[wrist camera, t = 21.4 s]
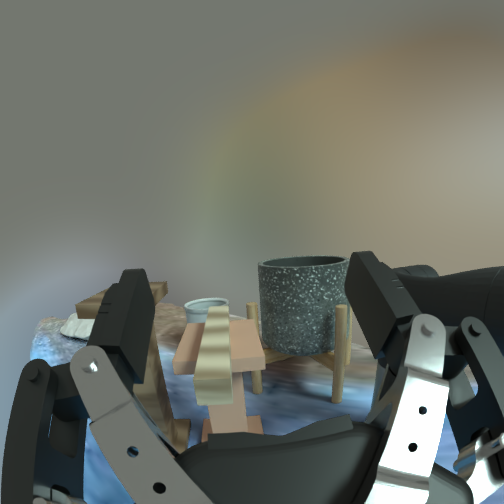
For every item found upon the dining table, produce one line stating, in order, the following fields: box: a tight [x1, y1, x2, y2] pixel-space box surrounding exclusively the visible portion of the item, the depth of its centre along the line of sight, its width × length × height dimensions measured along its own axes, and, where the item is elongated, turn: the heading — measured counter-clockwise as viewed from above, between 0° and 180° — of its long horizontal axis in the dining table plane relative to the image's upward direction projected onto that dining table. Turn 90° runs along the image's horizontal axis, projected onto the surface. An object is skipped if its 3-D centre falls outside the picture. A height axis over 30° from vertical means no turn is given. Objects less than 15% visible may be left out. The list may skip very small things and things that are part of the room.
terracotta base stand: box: [172, 319, 265, 442], centre depth 42 cm, size 16×12×24 cm
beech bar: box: [193, 305, 233, 405], centre depth 36 cm, size 26×3×3 cm, turn 5°
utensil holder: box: [184, 298, 230, 324], centre depth 90 cm, size 15×15×18 cm
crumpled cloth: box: [60, 313, 95, 340], centre depth 103 cm, size 24×35×9 cm
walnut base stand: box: [75, 281, 191, 453], centre depth 41 cm, size 16×10×32 cm, turn 5°
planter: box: [246, 256, 352, 404], centre depth 68 cm, size 22×22×32 cm
